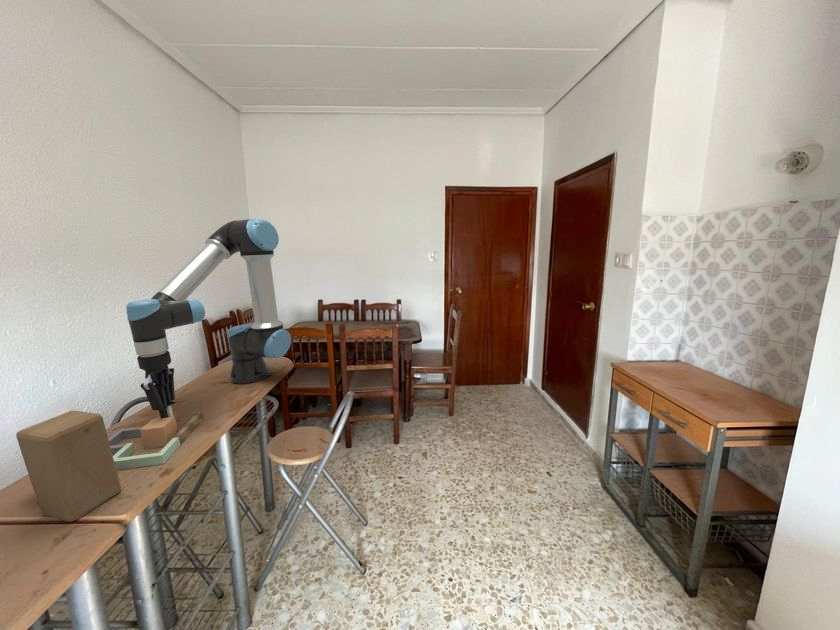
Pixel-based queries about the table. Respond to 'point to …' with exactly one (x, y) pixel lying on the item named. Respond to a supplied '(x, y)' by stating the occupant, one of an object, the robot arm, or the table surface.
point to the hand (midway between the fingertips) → (169, 426)
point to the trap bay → (120, 436)
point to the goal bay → (143, 456)
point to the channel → (189, 427)
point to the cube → (158, 432)
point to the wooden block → (69, 464)
